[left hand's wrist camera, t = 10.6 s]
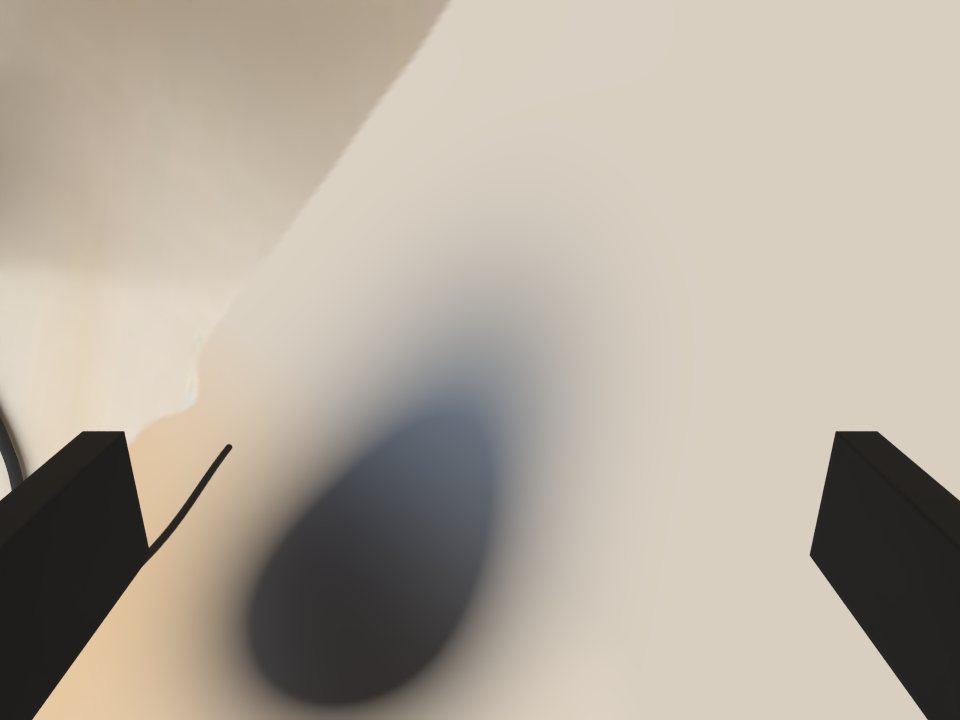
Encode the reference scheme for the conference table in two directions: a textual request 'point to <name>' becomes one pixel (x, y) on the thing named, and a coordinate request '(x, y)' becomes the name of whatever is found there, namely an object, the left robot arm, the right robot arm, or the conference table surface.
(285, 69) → the conference table surface
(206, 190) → the conference table surface
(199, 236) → the conference table surface
